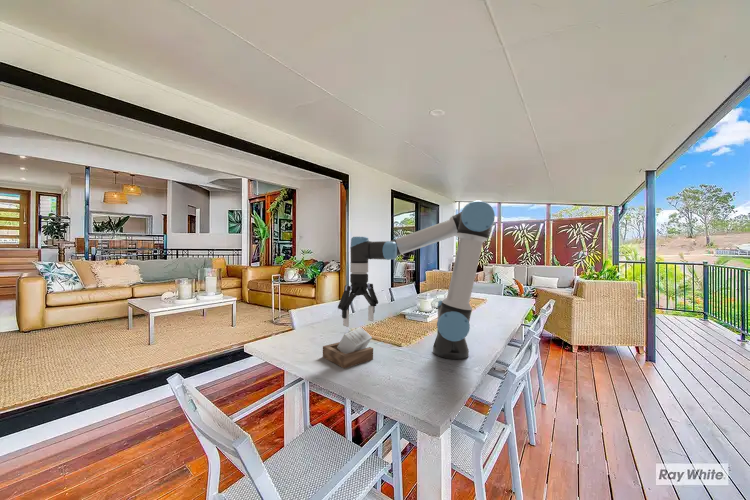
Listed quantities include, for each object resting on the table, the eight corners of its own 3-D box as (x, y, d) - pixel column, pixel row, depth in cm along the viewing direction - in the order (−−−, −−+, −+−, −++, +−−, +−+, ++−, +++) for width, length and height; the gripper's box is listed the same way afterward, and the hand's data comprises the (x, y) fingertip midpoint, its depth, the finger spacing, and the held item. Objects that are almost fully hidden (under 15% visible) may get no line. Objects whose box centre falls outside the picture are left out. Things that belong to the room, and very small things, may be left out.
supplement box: (365, 349, 126) (348, 360, 115) (353, 338, 129) (335, 347, 118) (373, 337, 124) (356, 346, 113) (360, 325, 127) (343, 334, 116)
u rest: (373, 359, 118) (373, 348, 118) (344, 368, 109) (344, 356, 109) (350, 349, 129) (350, 339, 129) (322, 357, 120) (322, 346, 120)
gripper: (374, 271, 134) (374, 317, 134) (329, 274, 117) (329, 326, 117) (386, 272, 128) (386, 320, 128) (340, 275, 111) (340, 330, 111)
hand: (358, 323), depth 122 cm, fingers open, 13 cm apart
